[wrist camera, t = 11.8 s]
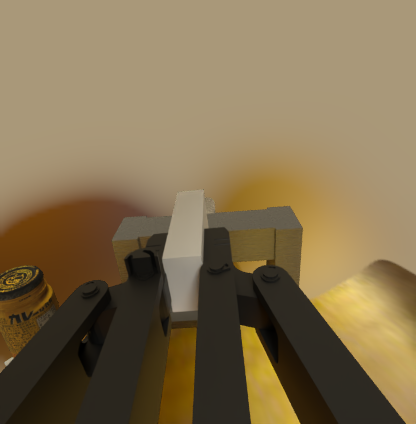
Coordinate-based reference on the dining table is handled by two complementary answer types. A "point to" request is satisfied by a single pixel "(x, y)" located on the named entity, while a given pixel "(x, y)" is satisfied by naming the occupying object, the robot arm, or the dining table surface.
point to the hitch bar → (239, 240)
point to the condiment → (24, 306)
